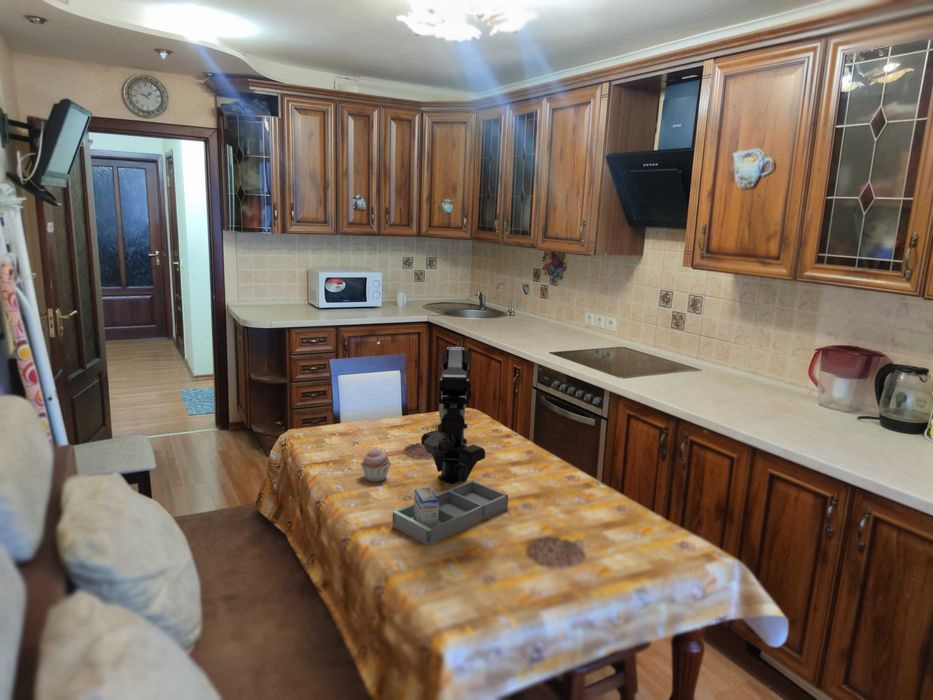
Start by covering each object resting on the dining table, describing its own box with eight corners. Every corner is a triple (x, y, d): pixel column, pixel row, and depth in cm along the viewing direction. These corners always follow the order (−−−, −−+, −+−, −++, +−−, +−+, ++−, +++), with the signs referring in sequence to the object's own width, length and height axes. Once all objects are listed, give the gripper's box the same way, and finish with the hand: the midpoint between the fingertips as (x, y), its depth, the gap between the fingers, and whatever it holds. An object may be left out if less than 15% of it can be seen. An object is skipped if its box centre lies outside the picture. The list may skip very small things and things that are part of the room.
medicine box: (413, 519, 165) (413, 488, 164) (429, 516, 167) (430, 486, 165) (421, 533, 158) (422, 501, 156) (438, 530, 160) (439, 499, 158)
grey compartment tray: (392, 526, 163) (392, 511, 163) (472, 492, 185) (472, 479, 184) (428, 546, 154) (428, 530, 153) (507, 508, 176) (508, 494, 175)
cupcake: (396, 475, 195) (397, 445, 193) (380, 486, 187) (380, 455, 185) (371, 469, 199) (371, 440, 197) (354, 480, 191) (354, 449, 189)
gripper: (406, 418, 164) (405, 474, 168) (456, 437, 152) (454, 497, 155) (437, 409, 172) (435, 463, 175) (487, 427, 159) (485, 484, 163)
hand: (451, 476), depth 167 cm, fingers open, 9 cm apart
